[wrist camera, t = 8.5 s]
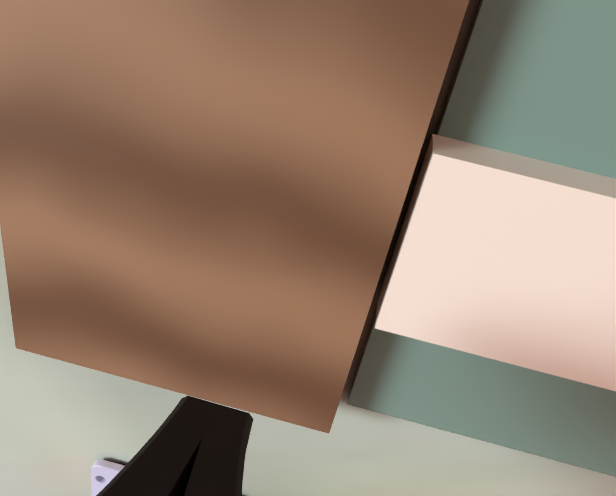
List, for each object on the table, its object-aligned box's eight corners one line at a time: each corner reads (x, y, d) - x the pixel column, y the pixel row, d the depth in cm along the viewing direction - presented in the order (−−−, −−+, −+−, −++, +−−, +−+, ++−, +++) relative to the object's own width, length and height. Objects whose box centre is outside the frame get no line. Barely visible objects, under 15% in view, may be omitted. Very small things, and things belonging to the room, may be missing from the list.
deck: (336, 393, 22) (328, 433, 20) (46, 314, 22) (16, 347, 21) (481, -66, 13) (489, -63, 12) (5, -175, 14) (-52, -187, 12)
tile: (643, 369, 18) (660, 403, 17) (377, 300, 19) (374, 328, 17) (755, 212, 15) (786, 240, 14) (432, 133, 16) (433, 153, 14)
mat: (613, 467, 21) (617, 477, 21) (348, 396, 22) (347, 404, 22) (949, 42, 13) (963, 46, 12) (501, -61, 13) (503, -60, 13)
